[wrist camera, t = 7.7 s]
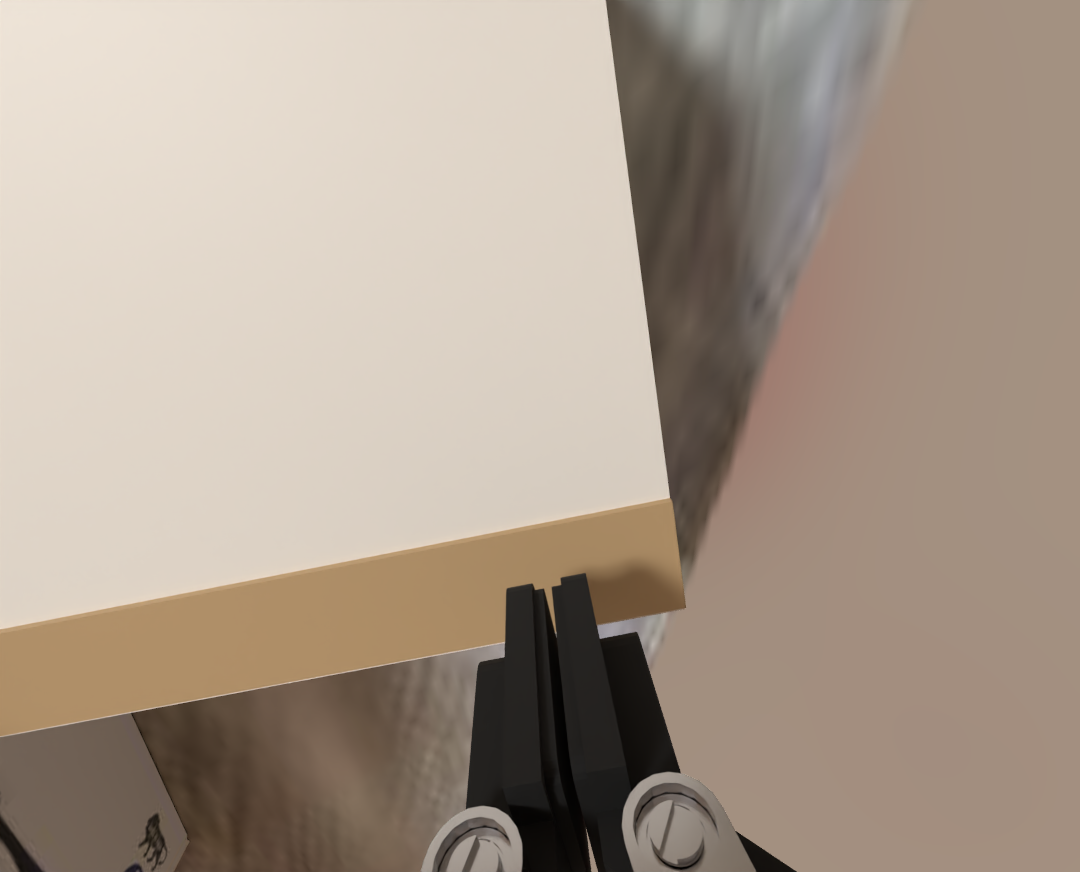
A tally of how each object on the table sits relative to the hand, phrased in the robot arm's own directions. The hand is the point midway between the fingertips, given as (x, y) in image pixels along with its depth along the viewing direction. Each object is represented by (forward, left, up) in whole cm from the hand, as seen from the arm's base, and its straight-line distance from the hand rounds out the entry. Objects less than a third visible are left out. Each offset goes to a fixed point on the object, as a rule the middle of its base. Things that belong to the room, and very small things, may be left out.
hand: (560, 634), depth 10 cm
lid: (+7, -7, -3) cm, 10 cm away
